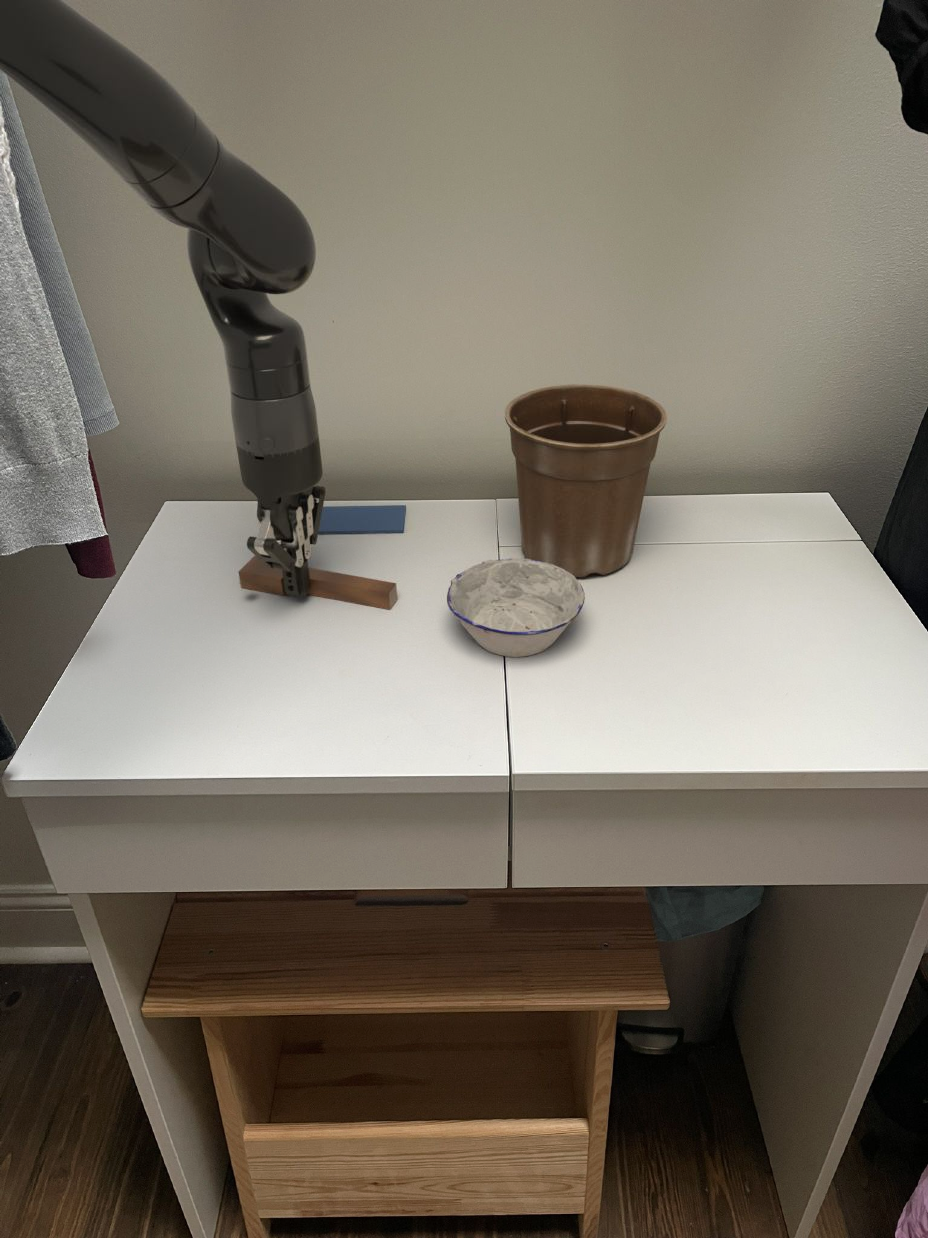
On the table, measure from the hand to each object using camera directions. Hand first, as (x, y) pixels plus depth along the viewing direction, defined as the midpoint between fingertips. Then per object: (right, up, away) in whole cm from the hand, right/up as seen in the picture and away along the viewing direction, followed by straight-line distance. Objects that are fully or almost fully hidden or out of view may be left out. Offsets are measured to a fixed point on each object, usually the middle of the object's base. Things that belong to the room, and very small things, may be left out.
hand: (298, 592), depth 96 cm
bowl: (+22, -4, -4) cm, 23 cm away
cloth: (+5, +9, +14) cm, 18 cm away
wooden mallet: (+2, 0, +2) cm, 3 cm away
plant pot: (+29, +5, +8) cm, 31 cm away
